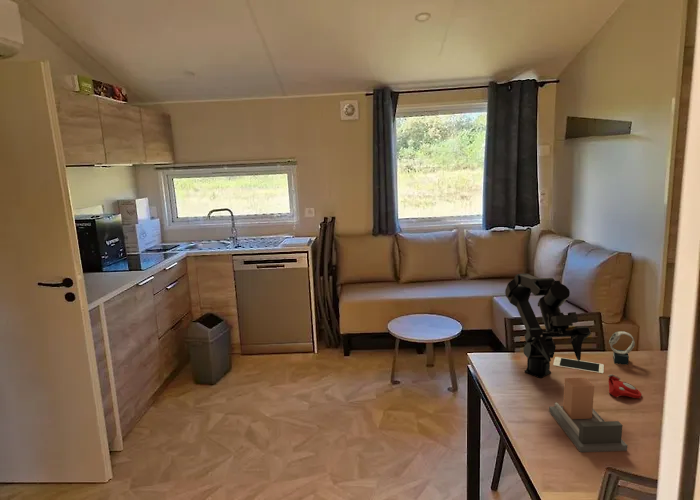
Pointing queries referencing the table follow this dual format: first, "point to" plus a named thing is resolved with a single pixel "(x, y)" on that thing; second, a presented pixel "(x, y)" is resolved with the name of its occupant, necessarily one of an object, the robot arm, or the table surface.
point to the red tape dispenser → (622, 388)
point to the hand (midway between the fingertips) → (564, 360)
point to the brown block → (578, 398)
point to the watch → (620, 355)
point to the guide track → (575, 438)
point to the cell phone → (579, 365)
